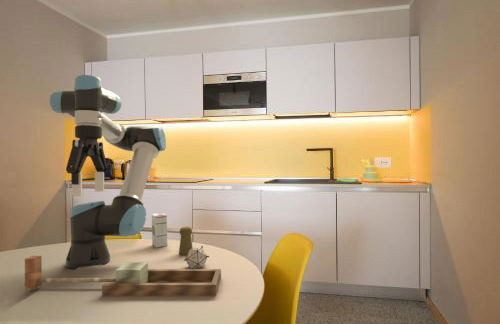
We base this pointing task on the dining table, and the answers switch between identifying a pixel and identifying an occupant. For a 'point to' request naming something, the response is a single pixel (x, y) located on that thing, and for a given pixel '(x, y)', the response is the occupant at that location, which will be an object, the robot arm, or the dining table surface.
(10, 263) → the dining table surface
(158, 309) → the dining table surface
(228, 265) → the dining table surface
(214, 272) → the tray
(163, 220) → the syrup box
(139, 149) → the robot arm
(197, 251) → the game die
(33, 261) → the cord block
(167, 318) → the dining table surface
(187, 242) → the cork
